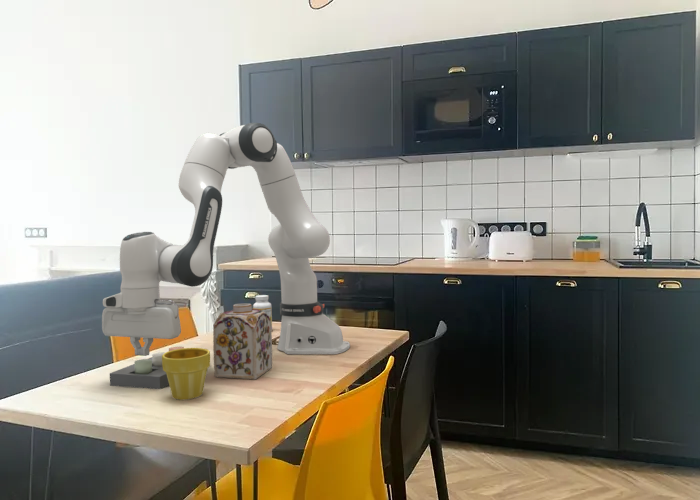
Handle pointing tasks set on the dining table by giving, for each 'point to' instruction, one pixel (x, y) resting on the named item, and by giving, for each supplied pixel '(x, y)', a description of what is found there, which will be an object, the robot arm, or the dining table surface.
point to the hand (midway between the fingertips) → (142, 355)
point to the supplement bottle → (263, 305)
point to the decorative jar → (242, 343)
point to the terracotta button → (175, 348)
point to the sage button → (143, 366)
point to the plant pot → (186, 371)
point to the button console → (139, 378)
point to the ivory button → (157, 359)
